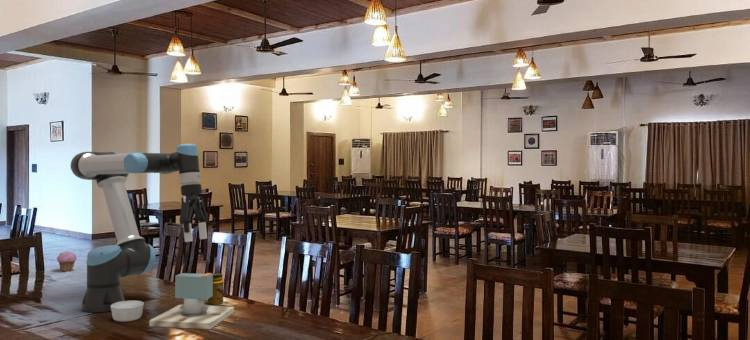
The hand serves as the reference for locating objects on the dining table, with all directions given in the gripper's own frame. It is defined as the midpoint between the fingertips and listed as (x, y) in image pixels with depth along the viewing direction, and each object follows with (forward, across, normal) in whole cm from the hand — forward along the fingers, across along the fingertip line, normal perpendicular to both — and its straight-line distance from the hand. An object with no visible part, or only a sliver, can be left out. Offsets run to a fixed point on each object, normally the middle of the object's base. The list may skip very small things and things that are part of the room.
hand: (196, 240), depth 209 cm
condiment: (+27, +16, +3) cm, 31 cm away
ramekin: (+25, -8, +25) cm, 37 cm away
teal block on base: (+25, -6, +1) cm, 26 cm away
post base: (+28, -6, +2) cm, 29 cm away
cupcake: (+9, +69, +100) cm, 122 cm away
